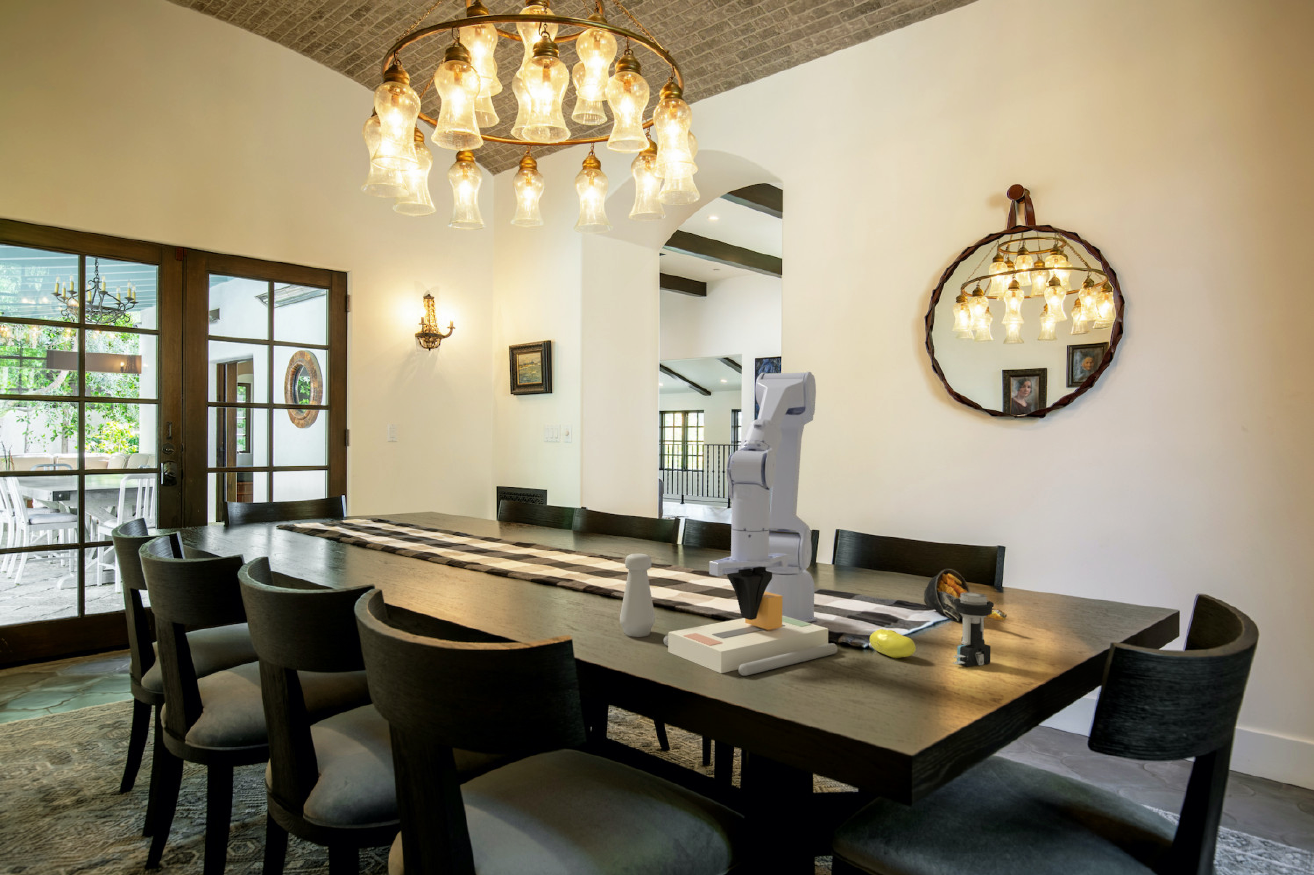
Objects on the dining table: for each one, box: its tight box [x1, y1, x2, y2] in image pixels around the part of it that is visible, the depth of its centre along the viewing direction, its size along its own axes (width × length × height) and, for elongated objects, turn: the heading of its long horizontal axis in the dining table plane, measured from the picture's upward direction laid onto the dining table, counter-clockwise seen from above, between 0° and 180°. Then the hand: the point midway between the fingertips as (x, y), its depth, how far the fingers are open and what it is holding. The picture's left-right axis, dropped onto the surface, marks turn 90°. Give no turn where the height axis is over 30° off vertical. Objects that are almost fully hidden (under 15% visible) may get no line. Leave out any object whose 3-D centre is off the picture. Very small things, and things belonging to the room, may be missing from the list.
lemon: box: [869, 628, 917, 659], centre depth 111 cm, size 4×8×4 cm, turn 28°
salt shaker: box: [619, 552, 656, 638], centre depth 122 cm, size 6×6×13 cm
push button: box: [952, 591, 995, 668], centre depth 108 cm, size 7×5×10 cm
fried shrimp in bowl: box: [923, 568, 1008, 622], centre depth 134 cm, size 9×11×18 cm
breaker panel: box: [667, 616, 829, 674], centre depth 113 cm, size 22×12×3 cm, turn 126°
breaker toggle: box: [745, 592, 783, 630], centre depth 115 cm, size 3×5×5 cm, turn 36°
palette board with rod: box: [663, 635, 838, 677], centre depth 113 cm, size 20×19×2 cm
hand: (748, 618), depth 113 cm, fingers closed
